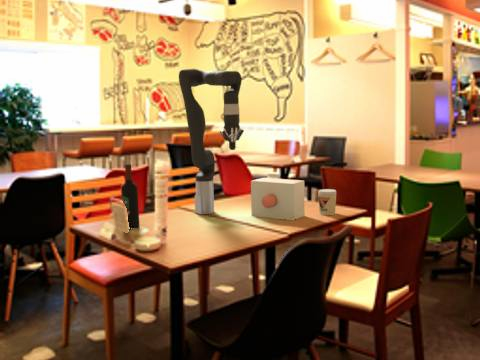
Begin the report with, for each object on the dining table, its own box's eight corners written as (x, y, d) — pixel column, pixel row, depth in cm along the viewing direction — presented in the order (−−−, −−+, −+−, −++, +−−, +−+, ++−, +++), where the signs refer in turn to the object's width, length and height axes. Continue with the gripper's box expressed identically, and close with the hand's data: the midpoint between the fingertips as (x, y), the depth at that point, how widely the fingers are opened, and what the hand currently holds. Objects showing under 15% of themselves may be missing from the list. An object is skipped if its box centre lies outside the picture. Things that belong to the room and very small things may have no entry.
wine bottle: (138, 229, 260) (135, 165, 255) (122, 229, 259) (118, 165, 255) (140, 225, 267) (137, 163, 263) (124, 226, 266) (120, 164, 262)
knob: (273, 208, 270) (272, 195, 269) (261, 207, 274) (261, 194, 273) (282, 205, 278) (282, 192, 277) (271, 204, 282) (271, 191, 281)
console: (293, 220, 270) (292, 183, 267) (251, 215, 283) (250, 180, 280) (304, 215, 280) (304, 180, 277) (263, 211, 293) (263, 177, 290)
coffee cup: (314, 213, 285) (314, 190, 283) (327, 211, 290) (327, 188, 288) (327, 216, 277) (327, 192, 276) (340, 213, 283) (340, 190, 281)
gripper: (238, 113, 272) (238, 148, 274) (215, 113, 264) (216, 150, 267) (247, 113, 266) (248, 149, 268) (224, 114, 258) (225, 151, 261)
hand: (232, 149), depth 267 cm, fingers closed
